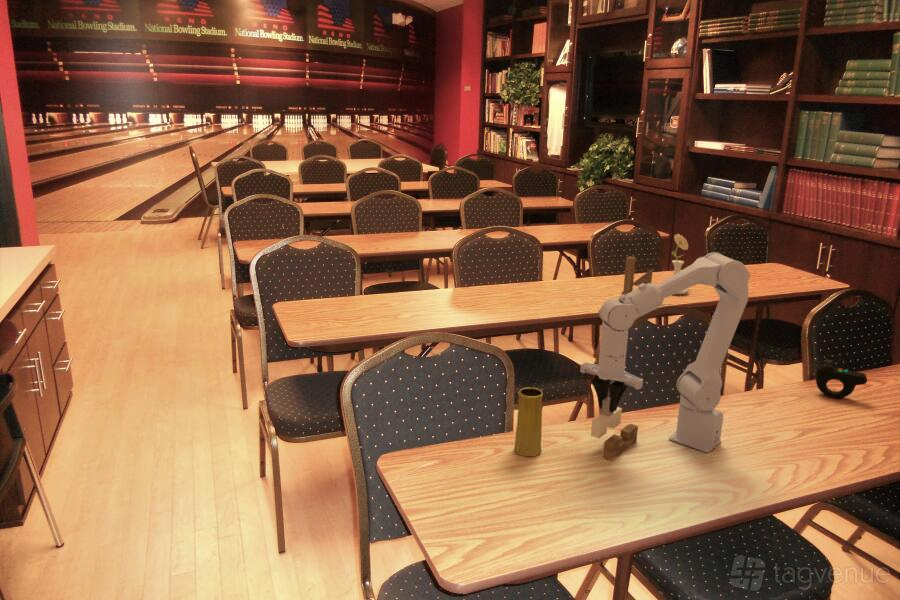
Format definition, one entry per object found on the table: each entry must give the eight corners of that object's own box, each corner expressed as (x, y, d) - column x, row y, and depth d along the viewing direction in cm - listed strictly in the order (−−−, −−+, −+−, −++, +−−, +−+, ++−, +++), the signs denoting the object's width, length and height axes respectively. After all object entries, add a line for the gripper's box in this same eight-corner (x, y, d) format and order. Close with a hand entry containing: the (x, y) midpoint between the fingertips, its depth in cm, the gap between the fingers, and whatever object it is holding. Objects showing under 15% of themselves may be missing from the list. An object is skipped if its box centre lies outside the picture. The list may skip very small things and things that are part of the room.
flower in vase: (692, 296, 279) (699, 238, 272) (664, 296, 279) (671, 237, 272) (682, 288, 291) (689, 232, 284) (656, 288, 291) (662, 231, 285)
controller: (811, 389, 186) (817, 356, 184) (862, 400, 180) (869, 365, 177) (810, 394, 183) (816, 360, 180) (862, 405, 177) (869, 370, 174)
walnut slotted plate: (628, 438, 156) (630, 423, 155) (636, 441, 155) (638, 426, 154) (603, 457, 147) (604, 441, 146) (611, 460, 146) (612, 444, 145)
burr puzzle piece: (612, 421, 157) (615, 391, 155) (620, 423, 156) (623, 394, 153) (590, 435, 150) (593, 405, 148) (598, 438, 148) (601, 407, 146)
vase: (509, 446, 151) (512, 388, 148) (533, 442, 154) (536, 385, 150) (521, 459, 146) (524, 399, 142) (546, 454, 148) (550, 395, 144)
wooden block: (646, 305, 265) (650, 261, 260) (620, 300, 271) (624, 257, 266) (649, 303, 268) (654, 259, 263) (624, 298, 274) (628, 255, 269)
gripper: (575, 349, 149) (571, 405, 153) (634, 366, 140) (628, 424, 144) (591, 342, 154) (586, 395, 158) (649, 357, 145) (643, 414, 149)
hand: (607, 409), depth 151 cm, fingers closed on burr puzzle piece, 2 cm apart
